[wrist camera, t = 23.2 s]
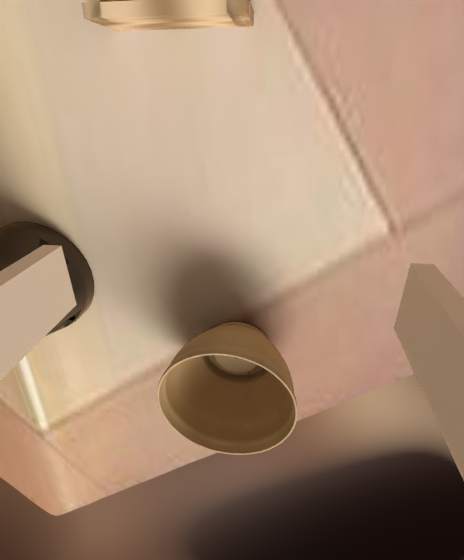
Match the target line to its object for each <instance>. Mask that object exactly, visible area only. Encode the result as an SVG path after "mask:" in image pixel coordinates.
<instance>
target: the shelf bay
mask: <svg viewBox="0 0 464 560" xmlns="http://www.w3.org/2000/svg"><path fill="white" fill-rule="evenodd" d="M87 1H88V3H82V7H83V13H84V19H87V20H89V21H92V22H95V23H97V24H100V25H103V26H105V27H108V28H111V29H113V30H116V31H128V30H157V29H186V28H216V27H245V26H253V20H254V12H253V10H252V7H251V5H250V2H249V0H132V1H128V0H87Z"/></svg>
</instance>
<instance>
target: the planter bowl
mask: <svg viewBox="0 0 464 560" xmlns="http://www.w3.org/2000/svg"><path fill="white" fill-rule="evenodd" d="M157 401H158V406H159V409H160V411H161V413H162V415H163V417H164V418H165V420H166V421H167V422H168V424H169V425H170V426H171V427H172V428H173V429H174V430H175V431H176V432H177V433H178V434H179V435H181V436H182V437H184V438H185V439H187V440H188V441H190V442H192V443H193V444H195V445H198V446H200V447H202V448H205V449H208V450H211V451H214V452H219V453H225V454H236V455H241V454H243V455H244V454H254V453H260V452H263V451H267V450H269V449H271V448H273V447H275V446H277V445H279V444H280V443H281V442H283V441H284V440H285V439H286V438H287V437H288V436H289V435H290V433H291V432H292V430H293V429H294V427H295V424H296V420H297V402H296V398H295V394H294V387H293V382H292V378H291V375H290V372H289V369H288V367H287V365H286V363H285V361H284V359H283V357H282V356H281V354H280V353H279V351H278V350H277V349H276V347H275V346H274V345H273V344H272V343H271V342H270V341H269V340H268V338H267V337H266V336H265V335H264V333H262V332H261V331H260V330H259V329H257V328H256V327H254V326H252V325H249V324H246V323H242V322H227V323H223V324H220V325H218V326H216V327H215V328H213V329H210V330H207V331H205V332H203V333H201V334H199V335H198V336H196V337H195V338H193V339H192V340H190V341H189V342H188V343H187V344H186V345H185V346H184V347H183V348H182V349H181V350H180V351H179V352H178V354H177V355H176V356H175V358H174V359H173V361H172V362H171V364H170V366H169V367H168V368H167V369H166V371H165V372H164V374H163V376H162V378H161V380H160V382H159V385H158V389H157Z"/></svg>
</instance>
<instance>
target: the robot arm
mask: <svg viewBox="0 0 464 560" xmlns="http://www.w3.org/2000/svg"><path fill="white" fill-rule="evenodd" d="M93 295H94V281H93V277H92V273H91V270H90V268H89V266H88V264H87V262H86V260H85V259H84V257H83V256H82V254H81V253H80V252H79V251H78V249H77V248H76V247H75V246H74V245H73V244H72V243H71V242H70V241H68V240H67V239H66V238H65V237H63V236H62V235H60V234H59V233H57V232H56V231H54V230H52V229H50V228H47V227H45V226H42V225H39V224H35V223H29V222H18V223H12V224H9V225H6V226H4V227H2V228H0V380H1V379H2V378H3V377H4V376H5V375H6V374H7V373H8V372H9V371H10V370H11V369H12V368H13V367H14V366H15V365H16V364H17V363H18V362H19V361H20V360H21V359H22V358H23V357H24V356H25V355H26V354H27V353H28V352H29V351H30V350H31V349H32V348H33V347H34V346H36V345H37V344H38V343H39V342H40V341H41V340H42V339H43V338H44V337H45V336H47V335H49V334H51V333H53V332H55V331H58V330H60V329H62V328H64V327H67V326H69V325H70V324H72V323H74V322H75V321H76V320H77V319H78V318H79V317H80V316H81V315H82V314H83V313H84V312H85V311H86V310H87V309H88V307H89V306H90V304H91V302H92V299H93ZM394 329H395V331H396V334H397V336H398V338H399V340H400V342H401V345H402V347H403V349H404V351H405V353H406V356H407V358H408V360H409V362H410V364H411V366H412V369H413V371H414V373H415V375H416V377H417V380H418V382H419V384H420V386H421V388H422V390H423V393H424V395H425V397H426V399H427V401H428V404H429V406H430V408H431V410H432V412H433V415H434V417H435V419H436V421H437V423H438V425H439V428H440V430H441V432H442V434H443V436H444V439H445V441H446V443H447V445H448V447H449V449H450V452H451V454H452V456H453V458H454V460H455V463H456V465H457V467H458V469H459V471H460V474H461V476H462V477H463V480H464V298H463V297H462V296H461V295H460V294H459V293H458V291H457V290H456V289H455V288H454V287H453V286H452V285H451V283H450V282H449V281H448V280H447V279H446V278H445V276H444V275H443V274H442V273H441V272H440V271H439V270H438V268H437V267H436V266H435V265H434V264H414V263H411V264H410V268H409V272H408V276H407V280H406V283H405V287H404V291H403V295H402V299H401V303H400V307H399V310H398V314H397V318H396V322H395V326H394Z"/></svg>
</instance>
